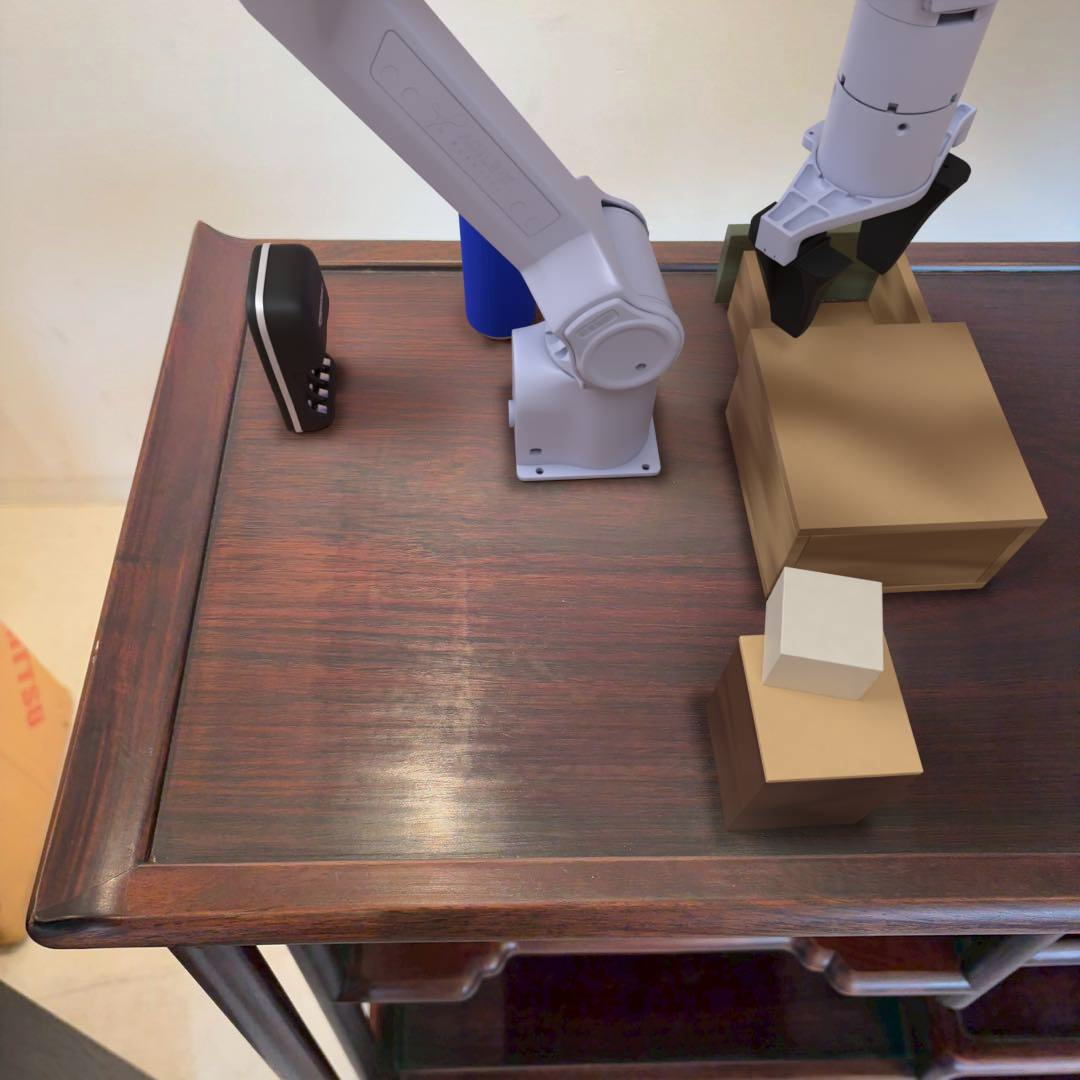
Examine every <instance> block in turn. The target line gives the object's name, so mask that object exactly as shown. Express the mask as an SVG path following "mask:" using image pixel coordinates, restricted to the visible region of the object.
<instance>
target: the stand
mask: <svg viewBox="0 0 1080 1080" xmlns="http://www.w3.org/2000/svg"><path fill="white" fill-rule="evenodd" d="M705 710H706V715H707V721H708V729H709V734H710V740H711V746H712V747H711V748H712V753H713V759H714V762H715V763H714V764H715V765H714V766H715V770H716V777H717V783H718V789H719V794H720V801H721V806H722V812H723V820H724V825H725V830H726V831H727V832H733V831H734V832H735V831H750V830H751V831H752V830H766V829H767V830H768V829H769V830H770V829H784V828H785V829H786V828H801V827H802V828H803V827H804V828H805V827H820V826H836V825H838V826H839V825H854V824H857V823H859V821H861V820H862V819H864V818H865V817H866V816H867V815H869V814H871V813H872V812H873V811H874V810H875V809H877V808H878V807H879V806H881V804H884V802H886V801H887V800H889V799H890V798H891V797H893V796H894V795H895V794H896V793H898V792H899V791H901V789H903V788H905V786H907V785H908V784H910V783H911V782H912V781H914V780H915V779H916V778H917V777H918V776H920V775H921V774H917V775H899V776H881V777H863V778H845V779H827V780H809V781H791V782H773V783H766V779H765V774H764V769H763V764H762V758H761V753H760V748H759V743H758V738H757V732H756V727H755V722H754V717H753V712H752V706H751V701H750V696H749V691H748V686H747V680H746V675H745V670H744V665H743V660H742V654H741V649H740V644H739V639H738V640H737V642H736V644H735V646H734V647H733V650H732V652H731V654H730V656H729V658H728V660H727V662H726V664H725V666H724V668H723V670H722V672H721V674H720V676H719V678H718V680H717V682H716V684H715V687H714V689H713V690H712V692H711V695H710V696H709V699H708V700H707V703H706V704H705Z"/></svg>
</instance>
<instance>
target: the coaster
mask: <svg viewBox="0 0 1080 1080" xmlns="http://www.w3.org/2000/svg"><path fill="white" fill-rule="evenodd" d="M764 636H765V634H750V635H749V634H747V635H740V636H739V637H738V640H739V644H740V649H741V654H742V660H743V665H744V670H745V675H746V680H747V686H748V691H749V696H750V701H751V706H752V712H753V717H754V722H755V727H756V732H757V738H758V743H759V748H760V753H761V758H762V764H763V769H764V774H765V779H766V783H773V782H791V781H809V780H827V779H845V778H863V777H881V776H899V775H917V774H920V775H921V774H923V773H924V768H923V764H922V762H921V761H922V760H921V758H920V753H919V750H918V746H917V744H916V741H915V737H914V733H913V730H912V726H911V723H910V719H909V715H908V712H907V709H906V705H905V701H904V698H903V695H902V692H901V688H900V684H899V681H898V677H897V673H896V670H895V667H894V663H893V660H892V657H891V653H890V650H889V646H888V641H887V639H886V636H885V631H884V630H883V657H884V671H883V672H882V673H881V674H880V676H879V677H878V678H877V679H876V680H875V681H874V682H873V683H872V685H871V686H870V687H869V688H868V689H867V690H866V691H865V692H864V694H863V695H862V696H861V697H860V698H859V699H858V700H857V701H854V700H848V699H842V698H836V697H831V696H825V695H819V694H814V693H808V692H802V691H796V690H791V689H785V688H779V687H773V686H768V685H763V684H762V672H763V654H764Z"/></svg>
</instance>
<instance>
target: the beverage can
mask: <svg viewBox="0 0 1080 1080" xmlns="http://www.w3.org/2000/svg"><path fill="white" fill-rule="evenodd" d="M457 213H458V212H457ZM458 227H459V239H460V252H461V253H460V255H461V265H462V278H463V290H464V291H463V292H464V301H465V302H464V305H465V315H466V319H467V322H468V323H469V325H470V327H472V329H474V330H475V331H476V332H478V333H479V334H481V335H482V336H484V337H486V338H489V339H492V340H493V339H494V340H508V339H509V340H510V339H512V330H513V329H518V328H523V327H528V326H531V325H533V323H534V321H535V320H536V315H537V303H536V301H535V299H534V297H533V295H532V293H531V291H530V289H529V287H528V286H527V284H526V282H525V280H524V278H523V276H522V274H521V273H520V271H519V270H518V269H517V268H516V267H515V266H514V265H513V264H512V263H511V262H510V261H508V260H507V259H506V258H505V257H504V256H503V255H502V254H501V253H500V252H499V251H498V250H497V249H496V248H495V247H494V246H493V245H492V244H491V243H490V242H489V241H487V240H486V239H485V238H484V237H483V236H482V235H481V234H480V233H479V232H478V231H477V230H476V229H475V228H474V227H473V226H472V225H471V224H470V223H469V222H468V221H467V220H465V219H464V218H463V217H462V216H461V215H460V214H459V213H458Z"/></svg>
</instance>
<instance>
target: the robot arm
mask: <svg viewBox="0 0 1080 1080" xmlns="http://www.w3.org/2000/svg"><path fill="white" fill-rule="evenodd" d="M238 2H239V3H240V4H241V5H242V6H243V8H244V9H245V10H246V11H247V13H248V14H249V15H250V16H251V17H252V18H253V19H254V20H255V21H256V22H258V23H259V24H260V25H261V26H262V27H263V28H264V29H265V30H266V31H267V32H268V33H269V34H270V35H271V36H272V37H273V38H274V39H275V40H276V41H277V42H278V43H279V44H280V45H282V46H283V47H284V48H285V50H287V51H288V52H289V53H290V54H291V55H292V56H293V57H294V58H295V59H296V60H297V61H298V62H299V63H300V64H301V65H303V67H305V69H307V70H308V71H309V72H310V73H311V74H312V76H314V77H315V78H316V79H317V80H318V81H319V82H320V83H321V84H322V85H323V86H324V87H326V88H327V89H328V90H329V91H330V92H331V93H332V94H333V95H334V96H335V97H336V98H337V99H338V100H339V101H340V102H341V103H343V104H344V106H346V107H347V109H349V110H350V111H351V112H352V113H353V114H354V115H355V116H356V117H357V118H358V119H359V120H360V121H361V122H363V124H364V125H365V126H367V127H368V128H369V129H370V131H372V132H373V133H374V134H375V136H377V137H378V138H379V139H380V140H381V141H382V142H383V143H384V144H386V145H387V147H388V148H390V150H392V151H393V152H394V153H395V154H396V155H397V156H398V157H399V158H400V159H401V160H402V161H403V162H404V163H405V164H407V166H408V167H410V168H411V169H412V170H413V171H414V172H415V173H416V174H417V176H419V177H420V178H421V180H423V181H424V182H425V183H426V184H427V185H429V187H431V189H432V190H434V192H436V193H437V195H439V196H440V197H441V198H442V199H443V200H444V201H445V202H447V204H448V205H449V206H451V207H452V209H454V211H455V212H456V213H459V214H460V215H461V216H462V217H463V218H464V219H465V220H467V221H468V222H469V223H470V224H471V225H472V226H473V227H474V228H475V229H476V230H477V231H478V232H479V233H480V234H481V235H482V236H483V237H484V238H485V239H486V240H487V241H489V242H490V243H491V244H492V245H493V246H494V247H495V248H496V249H497V250H498V251H499V252H500V253H501V254H502V255H503V256H504V257H505V258H506V259H507V260H508V261H510V262H511V263H512V264H513V265H514V266H515V267H516V268H517V269H518V270H519V271H520V273H521V274H522V276H523V278H524V280H525V282H526V284H527V286H528V287H529V289H530V291H531V293H532V295H533V297H534V299H535V301H536V306H537V307H538V309H539V311H540V313H541V315H542V317H543V319H544V320H542V321H540V322H537V323H536V324H531V326H528V327H523V328H518V329H513V330H512V338H511V383H512V385H511V386H512V387H511V388H512V390H511V394H512V395H511V396H512V397H511V398H512V399H508V402H507V404H508V405H507V406H508V427H509V428H513V429H514V430H513V431H514V446H515V447H514V448H515V466H516V477H517V478H518V480H519V481H522V482H533V481H534V482H535V481H537V482H538V481H556V480H557V481H558V480H559V481H560V480H584V479H609V478H611V479H612V478H634V477H655V476H658V475H659V474H660V473H661V470H662V469H661V468H662V466H661V460H660V459H661V458H660V454H659V447H658V441H657V436H656V429H655V422H654V416H653V413H654V408H655V403H656V397H657V391H658V386H659V382H660V381H659V380H660V376H661V375H663V374H664V373H665V372H667V371H668V370H669V369H670V368H671V367H672V366H673V365H674V364H675V362H676V361H677V359H678V358H679V357H680V355H681V353H682V351H683V348H684V345H685V330H684V327H683V324H682V321H681V320H680V317H679V316H678V315H677V314H676V313H675V310H674V308H673V304H672V301H671V299H670V296H669V292H668V290H667V287H666V284H665V281H664V278H663V275H662V272H661V269H660V266H659V264H658V261H657V258H656V255H655V253H654V249H653V247H652V243H651V241H650V230H649V228H648V224H647V220H646V218H645V216H644V214H643V213H642V212H641V211H640V209H639V208H637V207H636V205H634V204H633V203H631V202H629V201H627V200H626V199H622V198H619V197H616V196H613V195H610V194H609V193H607V192H604V191H603V190H602V189H601V188H600V187H599V186H598V185H596V183H595V181H594V180H593V179H592V178H591V177H590V176H589V175H588V174H582V175H579V176H577V177H575V176H574V175H573V174H572V173H571V171H570V170H569V169H568V168H567V167H566V166H565V165H564V163H563V162H562V161H561V159H560V158H559V157H558V156H557V155H556V154H555V153H554V151H553V150H552V149H551V148H550V147H549V145H548V144H547V143H546V142H545V140H543V138H542V137H541V136H540V135H539V133H537V132H536V130H535V129H534V128H533V127H532V126H531V124H530V123H529V122H528V121H527V120H526V118H525V117H524V116H523V115H522V114H521V112H520V111H519V110H518V108H516V107H515V105H514V104H513V103H512V102H511V101H510V100H509V99H508V97H507V96H506V95H505V94H504V92H503V91H502V90H501V89H500V88H499V87H498V85H496V83H495V82H494V81H493V79H492V78H491V77H490V76H489V74H487V73H486V71H485V70H484V69H483V68H482V66H481V65H480V63H478V62H477V61H476V59H475V58H474V57H473V56H472V55H471V54H470V52H469V51H468V50H467V48H465V46H464V45H463V44H462V43H461V42H460V40H458V38H457V37H456V36H455V35H454V33H453V32H452V30H450V29H449V28H448V26H447V25H446V24H445V23H444V21H442V19H441V18H440V17H439V16H438V15H437V14H436V13H435V11H434V10H433V8H431V6H430V5H429V4H428V3H427V1H426V0H238ZM998 2H999V0H855V3H854V6H853V10H852V14H851V17H850V18H851V19H850V22H849V26H848V30H847V34H846V38H845V40H844V41H845V42H844V46H843V50H842V53H841V57H840V62H839V65H838V69H837V71H836V72H837V73H836V76H835V79H834V84H833V88H832V93H831V96H830V99H829V105H828V108H827V112H826V115H825V119H822V120H820V121H818V122H817V123H815V124H814V125H812V126H810V127H808V128H807V129H805V130H804V132H803V134H802V135H803V136H802V139H801V145H802V147H803V148H804V149H805V150H807V151H808V152H810V153H809V154H808V156H807V157H806V159H805V161H804V162H803V164H802V165H801V166H800V169H799V170H798V172H797V173H796V175H795V176H794V178H793V179H792V181H791V182H790V184H789V185H788V186H787V188H786V190H785V192H784V193H783V194H782V196H781V198H780V199H779V200H778V201H776V200H775V201H773V202H772V203H770V204H769V205H767V206H766V207H764V208H763V209H761V210H759V211H758V212H757V213H755V214H754V215H753V216H752V217H751V219H750V223H749V224H750V228H749V232H748V237H749V239H750V241H751V243H752V245H753V246H754V248H755V250H756V252H757V254H758V257H759V259H760V261H761V264H762V266H763V269H764V273H765V276H766V281H767V286H768V293H769V305H770V314H771V322H773V323H774V324H775V325H777V326H778V327H780V328H781V329H782V330H784V331H785V332H786V333H788V334H789V335H790V336H792V337H793V338H798V337H799V336H801V335H802V334H803V333H804V332H805V331H806V330H807V329H808V327H809V326H810V324H811V323H812V321H813V319H814V317H815V315H816V312H817V310H818V308H819V306H820V303H822V301H823V300H822V299H823V297H824V296H825V294H826V293H827V291H828V289H829V288H830V286H831V285H832V284H833V282H834V281H835V280H836V279H837V278H838V277H839V276H840V274H841V273H842V272H843V271H844V270H846V269H847V268H848V267H849V266H850V265H852V264H853V263H854V261H853V260H851V259H850V258H848V257H847V256H845V255H843V254H842V253H840V252H839V251H837V250H836V249H834V248H833V247H831V246H830V245H829V244H830V241H831V237H830V236H828V237H827V236H826V234H827V231H828V230H832V229H835V228H839V227H842V226H846V225H849V224H852V223H856V222H859V221H862V223H861V227H860V232H859V236H858V241H857V250H856V259H858V260H859V261H861V262H862V263H864V264H866V265H867V266H869V267H870V268H872V269H873V270H875V271H876V272H878V273H879V274H881V275H884V274H885V273H886V272H888V271H889V270H890V269H891V268H892V267H893V266H894V264H895V263H896V262H897V260H898V259H899V258H900V256H901V255H902V254H903V252H905V251H906V249H907V248H908V247H909V245H910V244H911V242H912V241H913V240H914V238H915V237H916V236H917V234H918V232H919V231H920V230H921V228H923V226H924V225H925V223H926V222H927V221H928V220H929V218H930V217H931V216H932V215H933V214H934V213H935V212H936V211H937V209H938V208H939V207H941V205H942V204H943V203H944V202H946V201H947V199H948V198H950V196H952V195H953V194H954V193H955V192H956V191H957V190H958V189H960V188H961V187H962V186H963V185H965V184H966V183H967V182H968V181H969V179H970V177H971V174H972V168H971V165H970V164H969V163H968V162H967V161H966V160H964V159H962V158H961V157H959V156H957V155H955V154H953V153H951V152H950V151H951V148H957V147H959V146H960V145H961V144H963V143H964V142H965V141H966V140H967V137H968V134H969V132H970V130H971V127H972V124H973V122H974V120H975V117H976V115H977V112H978V108H977V107H975V106H973V105H971V104H969V103H967V102H966V101H964V100H962V99H961V97H962V95H963V92H964V89H965V86H966V84H967V81H968V79H969V76H970V74H971V71H972V69H973V66H974V63H975V61H976V58H977V56H978V53H979V51H980V48H981V45H982V43H983V40H984V38H985V36H986V32H987V30H988V27H989V25H990V22H991V20H992V17H993V14H994V13H995V9H996V7H997V5H998ZM459 214H458V215H459ZM644 468H646V469H644ZM539 472H541V473H539Z"/></svg>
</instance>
